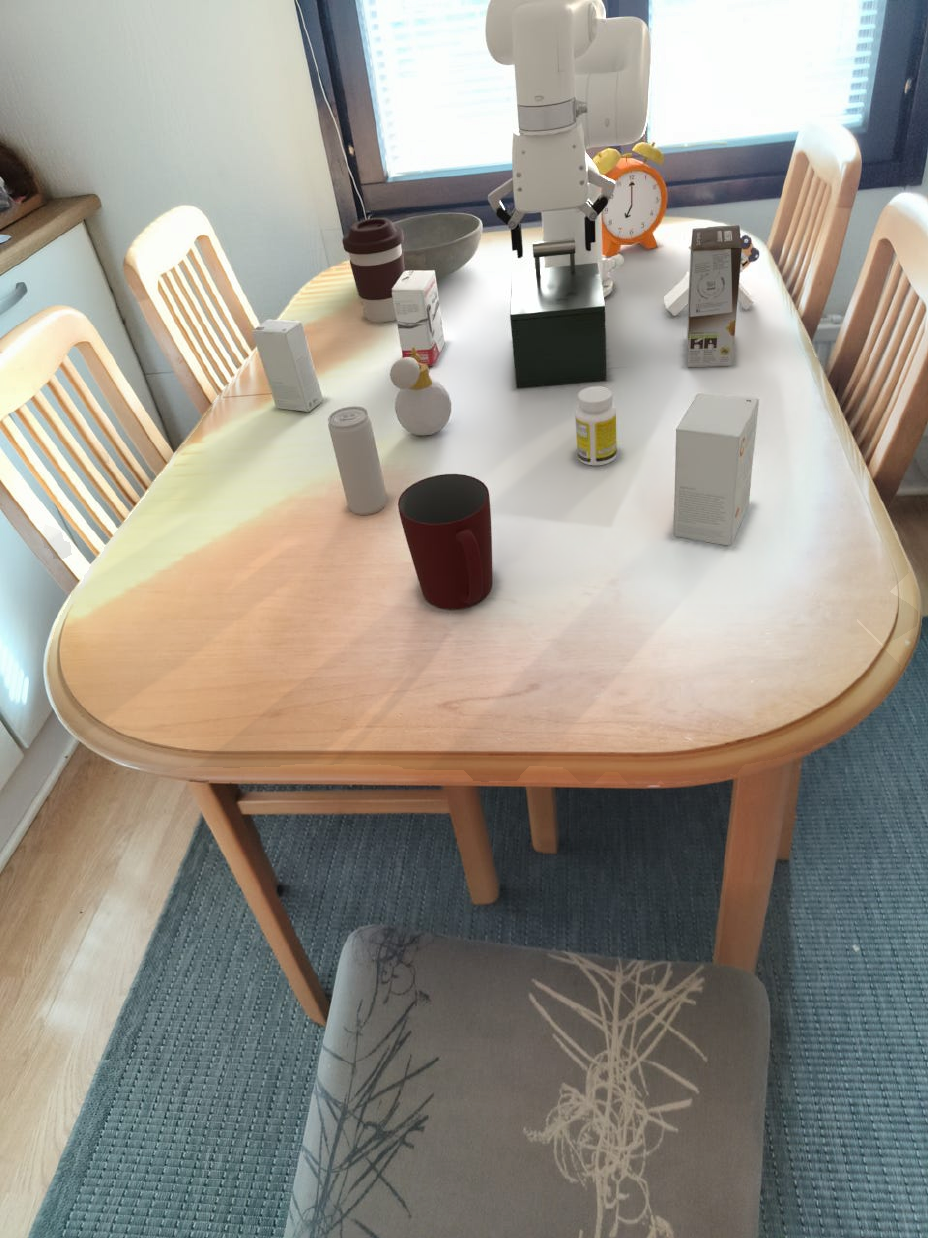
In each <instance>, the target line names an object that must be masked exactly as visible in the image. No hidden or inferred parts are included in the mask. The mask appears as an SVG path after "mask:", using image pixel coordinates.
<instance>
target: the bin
mask: <svg viewBox="0 0 928 1238" xmlns="http://www.w3.org/2000/svg"><path fill="white" fill-rule="evenodd" d="M606 327H607V326H606V311H605V312H596V313H586V314H575V315H565V316H554V317H543V318H533V319H522V320H510V330H511V341H512V352H513V353H512V354H513V361H514V362H513V364H514V376H515V385H516V387H515V388H516V389H523V388H524V389H525V388H536V387H547V386H559V385H560V386H561V385H571V384H582V383H584V384H585V383H595V382H605V381H607V334H606V333H607V330H606Z"/></svg>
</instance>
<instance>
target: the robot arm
mask: <svg viewBox="0 0 928 1238" xmlns="http://www.w3.org/2000/svg"><path fill="white" fill-rule="evenodd" d="M606 12H607V11H606V8H605V4H604V2H603V0H488V5H487V9H486V16H485V17H486V18H485V30H484V31H485V43H486V46H487V49H488V52H489V54H490V56H491V57H492V59H493V60H494V61H495V62H496V63H498V64H501V65H505V66H513V65H514V66H513V67H514V78H515V79H514V80H515V93H516V107H517V124H518V128H515V129H514V130H513V135H512V149H511V150H512V151H511V163H512V164H511V166H512V167H511V168H512V177H511V178H510V179H508V180H506V181H505V182H504V183H503V184H501V185H500V186H498V187H497V188H495V189H494V190H492V191H491V192H490V193H489V194H488V195H487V202H488V204H489V205H490V206H491V208H492V211H494V213H495V215H496V217H498V219H500V221H502V223H504V224H505V225H506V226H507V227H508V229H510V237H511V249H512V251H511V252H513V251H516V255H517V259H522V258H523V257H524V256H523V255H524V247H523V234H522V233H523V232H522V223H520V222H521V220H522V219H523V217H524V216H525V215H526V214H536V213H541V225H542V242H545V241H555V240H564V239H574V238H575V244H576V253H575V265H581V264H591V263H599V269H600V276H601V282H602V289H603V295H604V298H606V297H607V296H609V295H610V294H611V292H612V291H613V280H612V279H611V278H610V277H609V276H608V274H609V273H610V272H611V270H614V269H616V268H620V267H621V266H623V265H624V261H625V260H624V257H623V256H622V254H621V253H618V254H617V255H615V256H611V257H606V256H605V255H602V210H603V209H604V208H605V207H606V206H607V204H608V201H609V199H610V197H611V195H612V193H613V191H614V188H615V182H614V180H612V179H610V178H607V177H605V176H603V175H600V174H599V172H598V169H597V168H596V166H595V164H594V163H593V161H592V160H593V159H591V158H590V156H589V155H588V154H587V150H589V149H593V148H605V147H608V146H609V147H617V146H626V145H632V144H634V143H636V142H639V140H640V139H642V137H643V136H644V134H645V131H646V129H647V125H648V118H649V110H650V97H651V96H650V94H651V78H652V61H653V60H652V59H653V57H652V56H653V54H652V53H653V52H652V51H653V50H652V49H653V48H652V38H651V33H650V29H649V27H648V25H647V24H646V22H645V21H644V20H643V19H641V18H639V17H637V16H617V17H608V18H606V14H607V13H606ZM601 188H602V189H603V190H602V193H601ZM512 192H513V194H512V195H513V201H514V202H513V203H514V208H513V210H512V211H510V210H508V208H506V207H505V206H504V205H503V203H502V201H501V200H502V199H503V198H504V197H506V196H507V195H509V194H511V193H512ZM543 258H544V260H543V261H544V268H551V267H561V266H570V254H567V255H557V256H547V257H543Z"/></svg>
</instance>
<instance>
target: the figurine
mask: <svg viewBox="0 0 928 1238" xmlns="http://www.w3.org/2000/svg"><path fill="white" fill-rule="evenodd" d="M692 230H693V229H690V230H689V231H688V232H687V233H686V234H685V236H684V237H683V239H684V241H685V243H686V246H687V248H688V249H689V251H691V240H692ZM741 243H742V254H741V266H740V274H741V273H743V270H745V269H746V268H748V267H749V266H750V265H751V263H755V262H756V261H757V260H758V259H759V257H760V251H759V249H758V248H757V247H755V246H754V244H753V241H752V237H751V236H750V235H748V234H742V235H741ZM689 276H690V269H688V271H686V272H685V276H684V277H683V278H681V280H680V281H679V282H678V283H677V284H675V285H674V286H673V288H671V289H670V290H669V291H668V293H666V294H665V295H664V296H663V302H664V305H665V309H666V310H667V311H668V312H669V313H670V314H671V315H672V316H673V317H676V316H677V315H678V314H679V313H680V312H681V311H682V310H683V309H684V308H685V307H687V306H688V298H689ZM738 303H739V304H740V305H741V306H742V307H743V308H744V309H745V310H748V308H750V307H751V306H752V305H753V304H754V301H753V299H752V297H751V295H750V293H749V291H748V290H747V289H746V288H745V287H744V286H743V284H742V283H741V282H739V291H738Z"/></svg>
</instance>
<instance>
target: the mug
mask: <svg viewBox="0 0 928 1238" xmlns="http://www.w3.org/2000/svg"><path fill="white" fill-rule="evenodd" d="M397 507H398V513H399V518H400V521H401V526H402V529H403V533H404V536H405V540H406V543H407V547H408V550H409V553H410V558H411V561H412V564H413V567H414V570H415V573H416V576H417V579H418V583H419V586H420V590H421V593H422V595H423V598H424V599H425V601H426V602H427V603H428V604H430V605H432V606H433V607H435V608H439V609H444V610H461V609H467V608H470V607H472V606H475V605H477V604H479V603H480V602H482V601H483V600H484V599H486V598H487V597H488V596H489V594H490V593H491V592H492V589H493V582H494V581H493V537H492V534H493V533H492V532H493V531H492V509H491V499H490V492H489V488H488V486H487V485H486V484H485V483H484V482H483V481H482V480H481V479H478V478H476V477H474V476H472V475H468V474H467V475H466V474H462V473H443V474H437V475H432V476H428V477H425V478H423V479H420V480H418V481H416V482H414V483H413V484H411V485H410V486H408V487H407V488H405V490H404V491H403V492H402V493H401V495H400V496H399V498H398V502H397Z"/></svg>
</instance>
